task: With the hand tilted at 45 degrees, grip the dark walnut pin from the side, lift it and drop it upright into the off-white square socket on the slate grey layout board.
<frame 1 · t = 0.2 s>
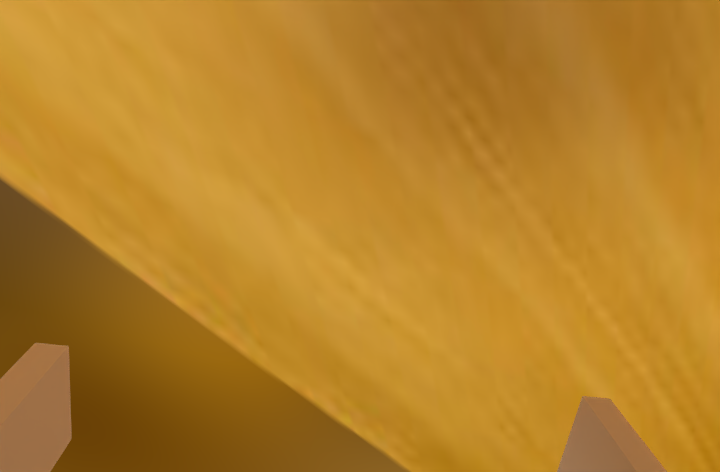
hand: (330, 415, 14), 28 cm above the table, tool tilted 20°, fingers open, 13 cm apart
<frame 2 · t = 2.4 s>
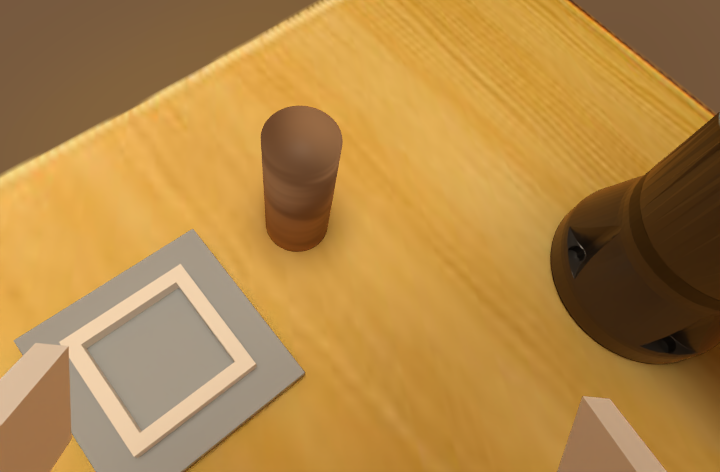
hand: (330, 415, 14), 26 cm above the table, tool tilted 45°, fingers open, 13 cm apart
layout board: (165, 359, 39), on the table
walnut pin: (297, 223, 44), on the table
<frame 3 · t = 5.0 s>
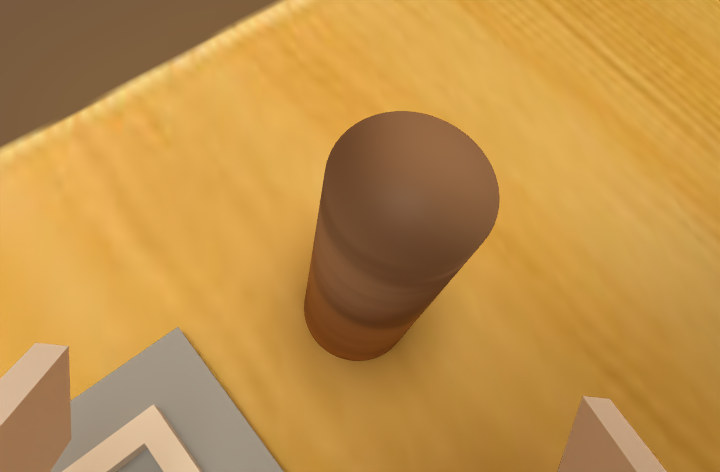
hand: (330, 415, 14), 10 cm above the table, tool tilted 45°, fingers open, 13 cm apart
walnut pin: (356, 308, 26), on the table
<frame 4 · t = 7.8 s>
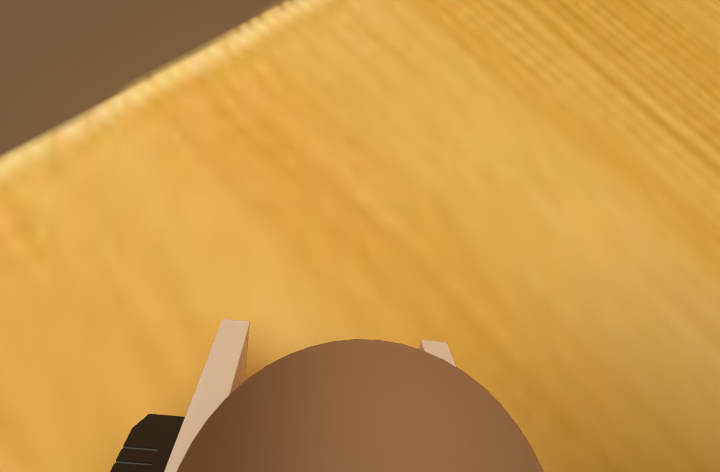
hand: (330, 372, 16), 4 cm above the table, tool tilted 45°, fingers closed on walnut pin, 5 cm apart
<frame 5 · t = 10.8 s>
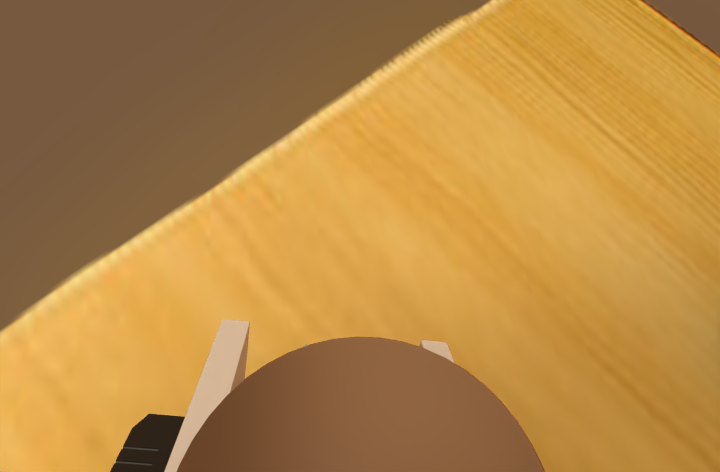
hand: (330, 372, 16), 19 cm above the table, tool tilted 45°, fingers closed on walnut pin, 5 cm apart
when the fingers open (7 cm above the table, at t = 14.0 s): walnut pin drops 2 cm, resting on layout board.
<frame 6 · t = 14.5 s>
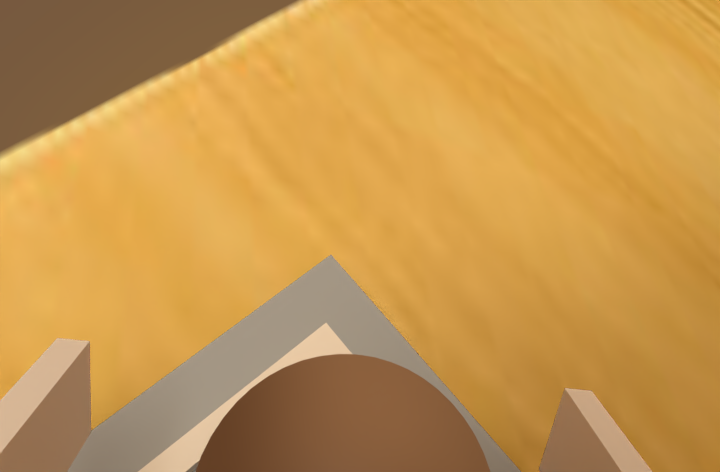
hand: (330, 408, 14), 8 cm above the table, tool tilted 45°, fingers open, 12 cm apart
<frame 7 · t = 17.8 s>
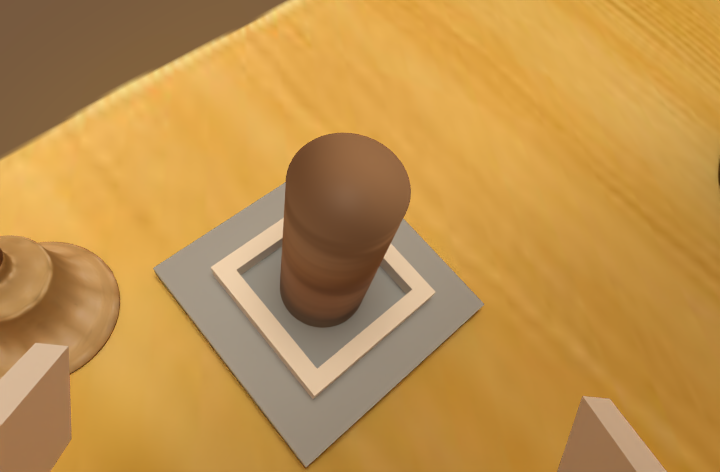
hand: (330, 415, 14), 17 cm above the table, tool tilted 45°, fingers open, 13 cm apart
layout board: (322, 292, 33), on the table
walnut pin: (322, 286, 32), point 1 cm above the table, touching layout board
hand bell: (42, 311, 31), on the table
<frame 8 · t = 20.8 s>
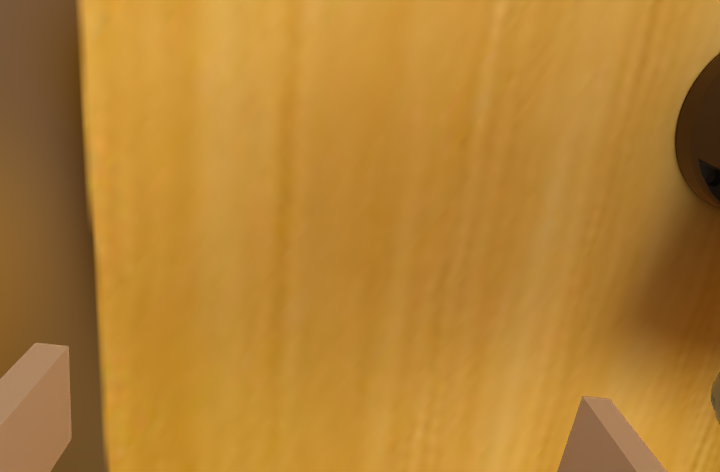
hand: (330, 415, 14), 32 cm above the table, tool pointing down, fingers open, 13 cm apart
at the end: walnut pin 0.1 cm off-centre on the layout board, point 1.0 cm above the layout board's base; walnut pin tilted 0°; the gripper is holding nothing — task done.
